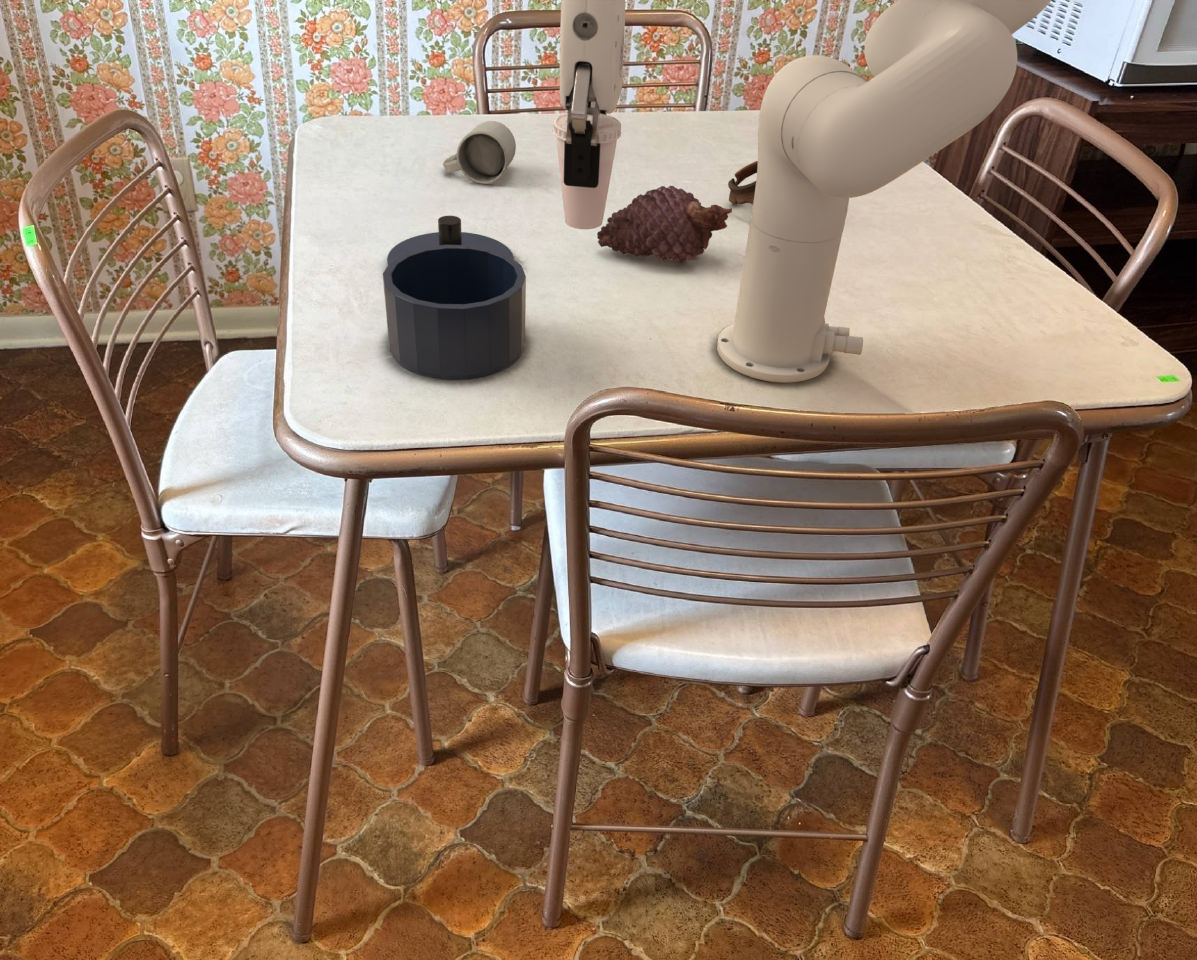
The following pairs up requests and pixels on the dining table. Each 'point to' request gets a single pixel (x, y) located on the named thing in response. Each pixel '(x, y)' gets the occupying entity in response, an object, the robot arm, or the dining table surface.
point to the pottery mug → (743, 192)
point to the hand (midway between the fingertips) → (585, 170)
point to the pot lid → (447, 239)
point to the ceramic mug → (484, 153)
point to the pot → (455, 311)
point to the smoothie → (590, 203)
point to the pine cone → (663, 225)
